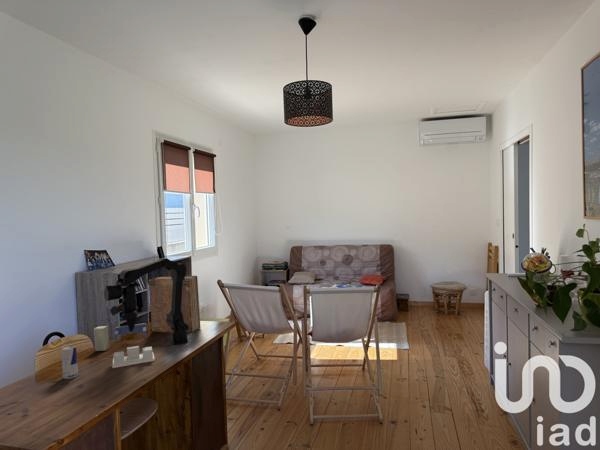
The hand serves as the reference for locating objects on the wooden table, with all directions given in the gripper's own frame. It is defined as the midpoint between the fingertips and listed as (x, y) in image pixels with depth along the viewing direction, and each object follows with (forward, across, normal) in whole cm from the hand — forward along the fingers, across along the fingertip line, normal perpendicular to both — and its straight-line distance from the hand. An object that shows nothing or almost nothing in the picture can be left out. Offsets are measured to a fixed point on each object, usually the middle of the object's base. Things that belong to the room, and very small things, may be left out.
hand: (131, 330), depth 190 cm
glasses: (+1, +4, 0) cm, 4 cm away
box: (+12, -19, -14) cm, 26 cm away
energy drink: (+12, +15, -23) cm, 30 cm away
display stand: (+12, +8, +1) cm, 14 cm away
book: (+12, -34, +22) cm, 42 cm away
